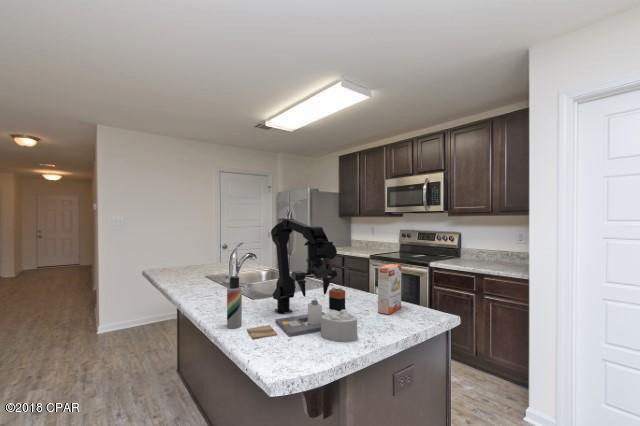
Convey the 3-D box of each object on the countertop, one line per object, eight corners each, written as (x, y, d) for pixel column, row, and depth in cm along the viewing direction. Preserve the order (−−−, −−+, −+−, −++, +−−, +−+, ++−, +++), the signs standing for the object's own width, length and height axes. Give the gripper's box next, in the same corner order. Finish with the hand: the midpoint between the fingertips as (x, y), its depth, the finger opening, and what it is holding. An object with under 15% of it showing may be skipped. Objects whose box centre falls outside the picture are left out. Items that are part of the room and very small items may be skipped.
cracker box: (389, 315, 136) (389, 268, 136) (377, 313, 139) (377, 266, 140) (402, 308, 147) (401, 264, 147) (390, 306, 150) (390, 263, 151)
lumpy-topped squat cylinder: (331, 328, 120) (331, 306, 120) (362, 335, 113) (362, 311, 114) (317, 337, 111) (317, 313, 112) (350, 344, 105) (349, 319, 105)
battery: (340, 311, 142) (340, 289, 142) (328, 309, 146) (328, 288, 146) (345, 309, 146) (345, 288, 146) (333, 307, 150) (333, 286, 150)
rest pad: (246, 330, 119) (246, 328, 119) (269, 326, 123) (269, 325, 123) (252, 339, 110) (252, 337, 110) (277, 335, 113) (277, 333, 113)
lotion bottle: (228, 324, 126) (228, 275, 126) (242, 323, 127) (242, 274, 127) (225, 328, 120) (225, 277, 121) (240, 328, 121) (240, 277, 121)
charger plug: (307, 322, 127) (307, 299, 127) (316, 321, 129) (316, 298, 129) (312, 326, 122) (312, 302, 123) (321, 325, 124) (321, 301, 124)
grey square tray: (275, 322, 127) (275, 317, 127) (323, 315, 137) (323, 310, 137) (289, 336, 112) (289, 330, 112) (342, 327, 121) (342, 321, 121)
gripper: (300, 260, 115) (301, 302, 115) (344, 258, 123) (344, 297, 123) (290, 257, 125) (290, 296, 125) (331, 255, 133) (331, 291, 133)
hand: (314, 295), depth 126 cm, fingers open, 9 cm apart
